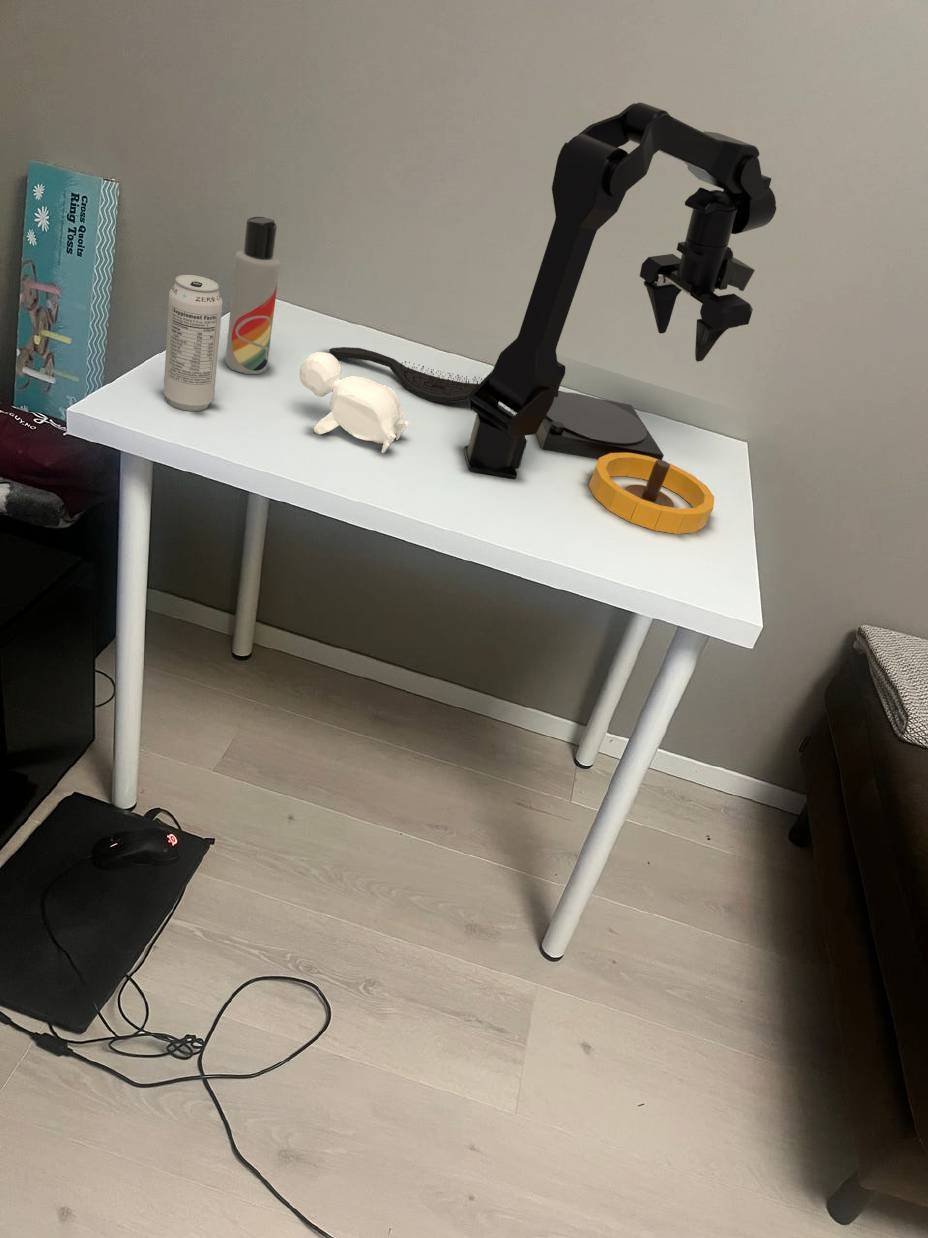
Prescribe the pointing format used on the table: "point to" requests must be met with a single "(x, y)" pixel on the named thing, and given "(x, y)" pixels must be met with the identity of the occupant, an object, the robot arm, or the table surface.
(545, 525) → the table surface
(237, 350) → the lotion bottle
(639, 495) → the peg
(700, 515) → the ring
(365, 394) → the white turtle figurine
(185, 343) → the energy drink can
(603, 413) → the hot plate
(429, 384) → the hairbrush
